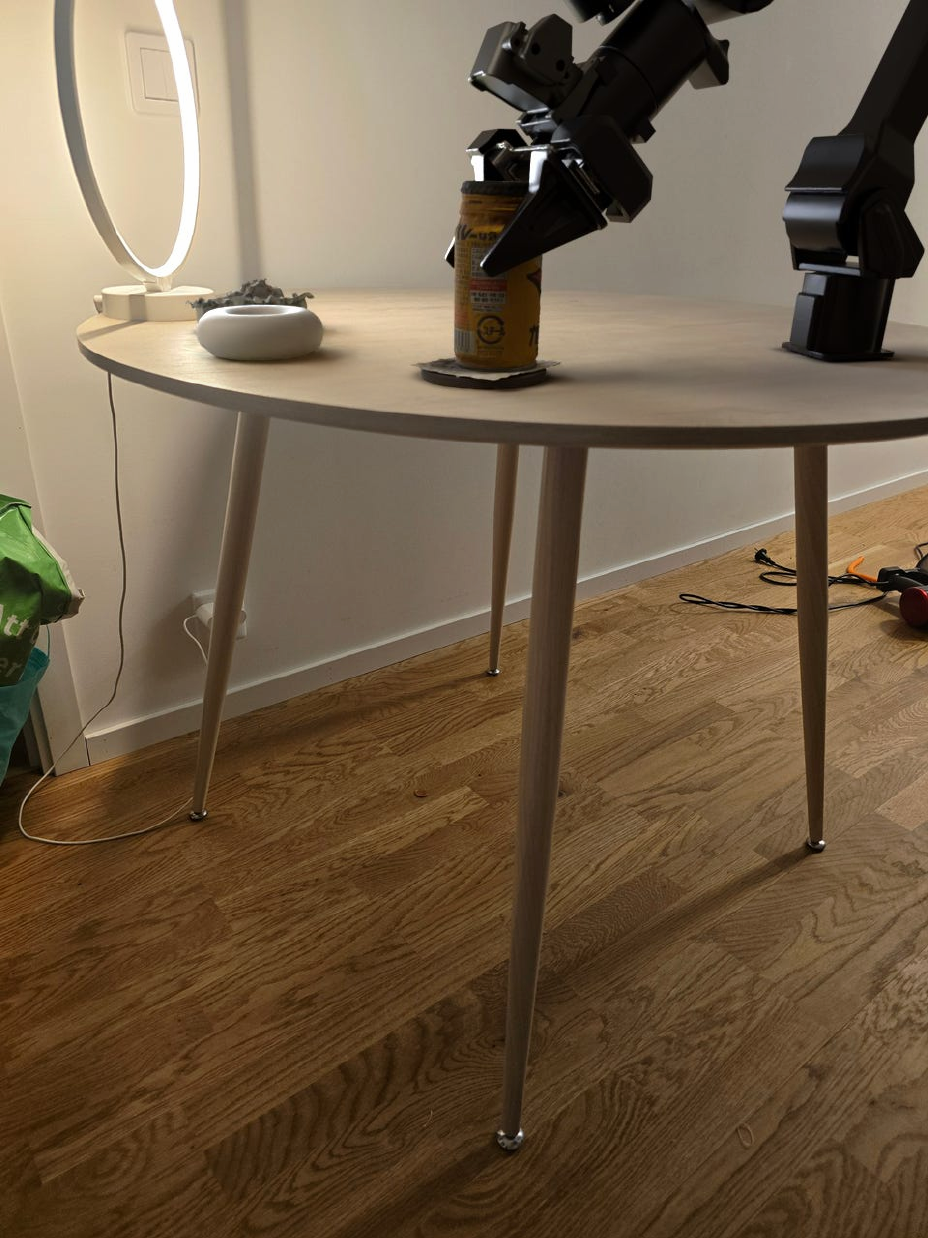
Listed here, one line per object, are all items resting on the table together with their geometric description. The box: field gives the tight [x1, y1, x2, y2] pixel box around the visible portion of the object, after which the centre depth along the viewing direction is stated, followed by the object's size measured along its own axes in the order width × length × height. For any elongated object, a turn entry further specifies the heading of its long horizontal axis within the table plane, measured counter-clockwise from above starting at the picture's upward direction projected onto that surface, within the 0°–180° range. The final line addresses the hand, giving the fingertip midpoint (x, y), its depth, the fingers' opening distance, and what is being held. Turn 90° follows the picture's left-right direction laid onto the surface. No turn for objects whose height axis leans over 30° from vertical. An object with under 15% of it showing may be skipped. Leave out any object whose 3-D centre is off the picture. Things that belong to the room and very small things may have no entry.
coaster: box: [420, 368, 547, 389], centre depth 63 cm, size 9×9×1 cm
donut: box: [195, 305, 324, 361], centre depth 71 cm, size 10×4×10 cm
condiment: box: [410, 179, 562, 380], centre depth 60 cm, size 7×8×12 cm
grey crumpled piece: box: [185, 277, 315, 325], centre depth 83 cm, size 11×8×4 cm
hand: (466, 267), depth 60 cm, fingers open, 7 cm apart
